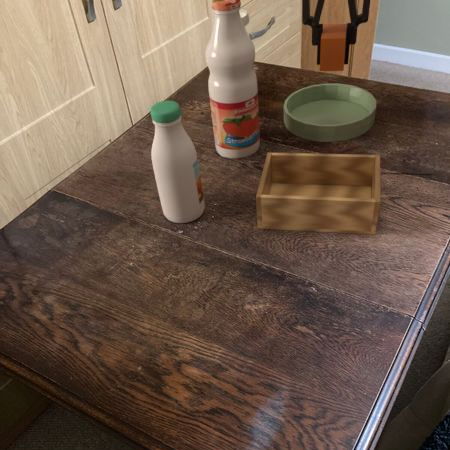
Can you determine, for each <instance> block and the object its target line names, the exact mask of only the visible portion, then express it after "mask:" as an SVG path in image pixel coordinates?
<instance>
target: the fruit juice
mask: <svg viewBox="0 0 450 450" xmlns="http://www.w3.org/2000/svg"><path fill="white" fill-rule="evenodd" d="M241 5H242V2H241V0H211V8H212V9H211V10H212V13H213V14H214V18H213V19H214V24H213V28H212V30H211V35H210V38H209V41H208V43H207V45H206V47H205V55H204V56H205V61H206V65H207V68H208V70H209V76H208V81H207V82H208V83H207V86H208V87H207V88H208V97H209V104H210V113H211V121H212V130H213V139H214V146H215V150H216V152H217V154H218V155H220V157H222V158H226V159H242V158H247V157H249V156H252V155H254V154H255V153H257V151H258V150H259V149H260V146H261V135H260V134H261V131H260V109H259V90H258V89H259V87H258V86H259V85H258V78H257V77H258V76H257V74H256V71H255V69H254V65H255V61H256V48H255V44H254V42H253V40H252V39H251V37H250V36H249V34H248V32H247V29H246V26H245V27H244V24H243V22H242V19H241V16H240V13H239V10H240V9H242V6H241Z"/></svg>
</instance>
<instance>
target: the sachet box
mask: <svg viewBox="0 0 450 450" xmlns="http://www.w3.org/2000/svg"><path fill="white" fill-rule="evenodd" d="M346 32H347V23H336V24H323V31H322V36H321V50H320V65H319V72H344V69H345V64H344V59H345V46H346Z"/></svg>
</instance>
